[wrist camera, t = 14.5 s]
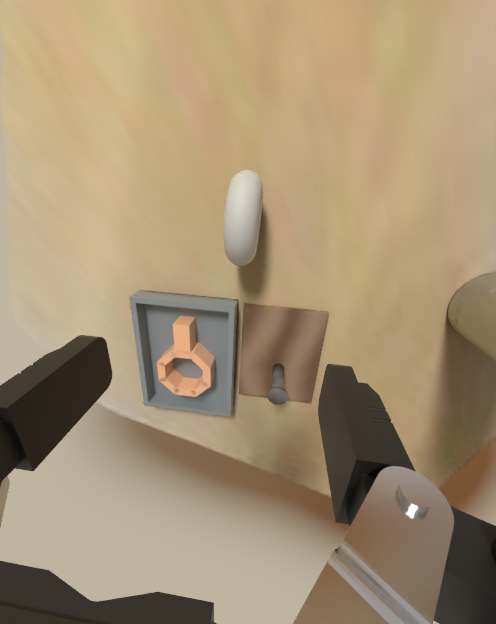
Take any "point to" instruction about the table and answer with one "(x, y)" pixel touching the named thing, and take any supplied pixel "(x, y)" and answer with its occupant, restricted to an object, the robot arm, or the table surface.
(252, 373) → the panel
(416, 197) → the table surface
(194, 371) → the tray
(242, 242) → the donut
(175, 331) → the ring
